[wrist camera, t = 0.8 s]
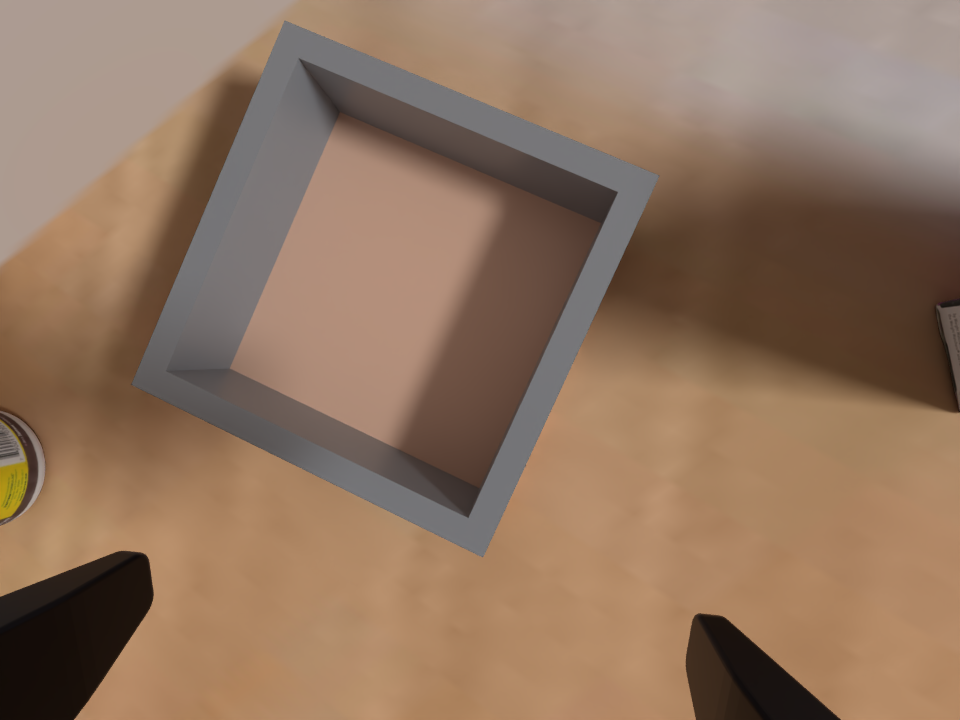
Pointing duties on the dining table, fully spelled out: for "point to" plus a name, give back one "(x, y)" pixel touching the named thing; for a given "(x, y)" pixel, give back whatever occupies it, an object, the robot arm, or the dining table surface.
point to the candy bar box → (951, 338)
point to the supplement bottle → (18, 467)
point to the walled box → (391, 284)
